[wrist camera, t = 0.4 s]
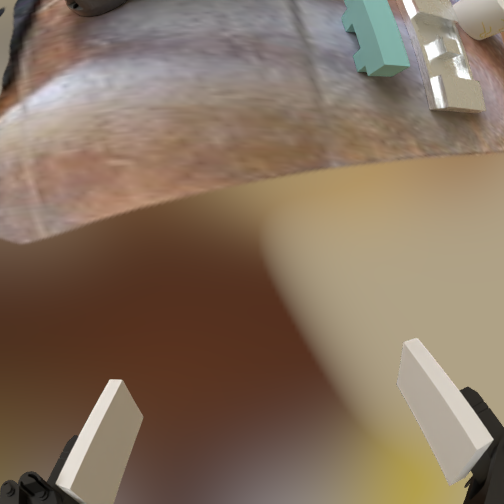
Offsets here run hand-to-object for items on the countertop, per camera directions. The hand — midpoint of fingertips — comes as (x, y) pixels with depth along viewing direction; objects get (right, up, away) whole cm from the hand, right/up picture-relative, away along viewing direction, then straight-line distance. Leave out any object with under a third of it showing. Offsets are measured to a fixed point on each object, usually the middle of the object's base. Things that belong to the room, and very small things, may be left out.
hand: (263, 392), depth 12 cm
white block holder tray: (+28, +37, +17) cm, 49 cm away
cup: (+38, +47, +14) cm, 62 cm away
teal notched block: (+14, +34, +17) cm, 41 cm away
